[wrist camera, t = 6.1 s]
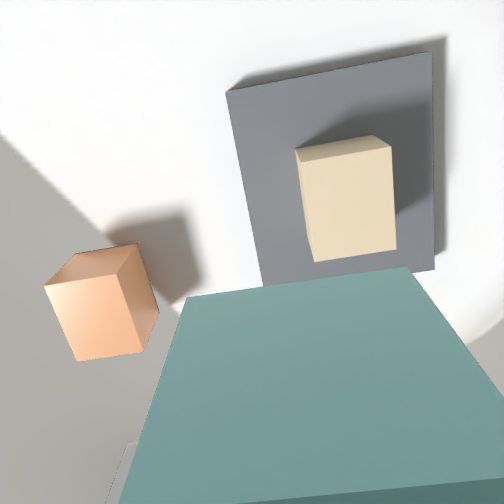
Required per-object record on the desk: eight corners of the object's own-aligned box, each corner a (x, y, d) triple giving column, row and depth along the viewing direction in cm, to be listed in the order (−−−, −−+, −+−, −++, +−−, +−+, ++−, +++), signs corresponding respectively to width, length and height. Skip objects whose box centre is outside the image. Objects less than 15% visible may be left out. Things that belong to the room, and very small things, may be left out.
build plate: (227, 90, 26) (219, 97, 21) (422, 52, 25) (462, 49, 20) (264, 285, 32) (265, 326, 27) (426, 260, 31) (459, 298, 26)
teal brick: (186, 297, 9) (113, 515, 5) (406, 266, 9) (558, 472, 4) (236, 485, 12) (219, 754, 7) (413, 467, 11) (516, 740, 7)
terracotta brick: (75, 253, 31) (43, 286, 27) (137, 242, 31) (115, 274, 26) (101, 321, 34) (77, 361, 29) (159, 311, 33) (143, 351, 29)
